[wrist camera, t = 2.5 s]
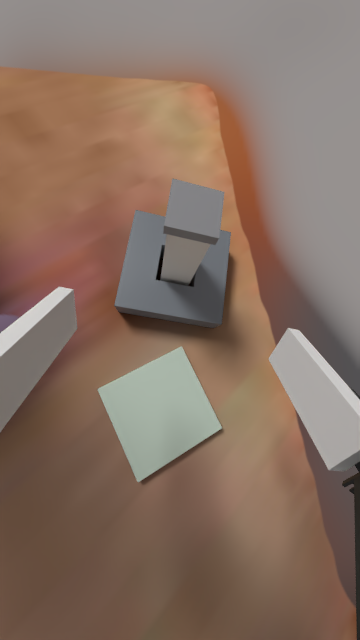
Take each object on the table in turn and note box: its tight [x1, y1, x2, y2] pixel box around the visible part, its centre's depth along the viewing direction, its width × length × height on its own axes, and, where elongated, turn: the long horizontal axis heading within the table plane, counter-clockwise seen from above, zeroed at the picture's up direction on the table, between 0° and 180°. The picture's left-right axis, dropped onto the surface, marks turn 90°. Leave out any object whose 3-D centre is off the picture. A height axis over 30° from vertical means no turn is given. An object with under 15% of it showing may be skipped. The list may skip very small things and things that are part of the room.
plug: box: [160, 179, 224, 286], centre depth 23 cm, size 5×5×14 cm
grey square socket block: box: [114, 210, 231, 328], centre depth 28 cm, size 14×14×4 cm
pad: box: [98, 346, 222, 482], centre depth 25 cm, size 12×12×1 cm
